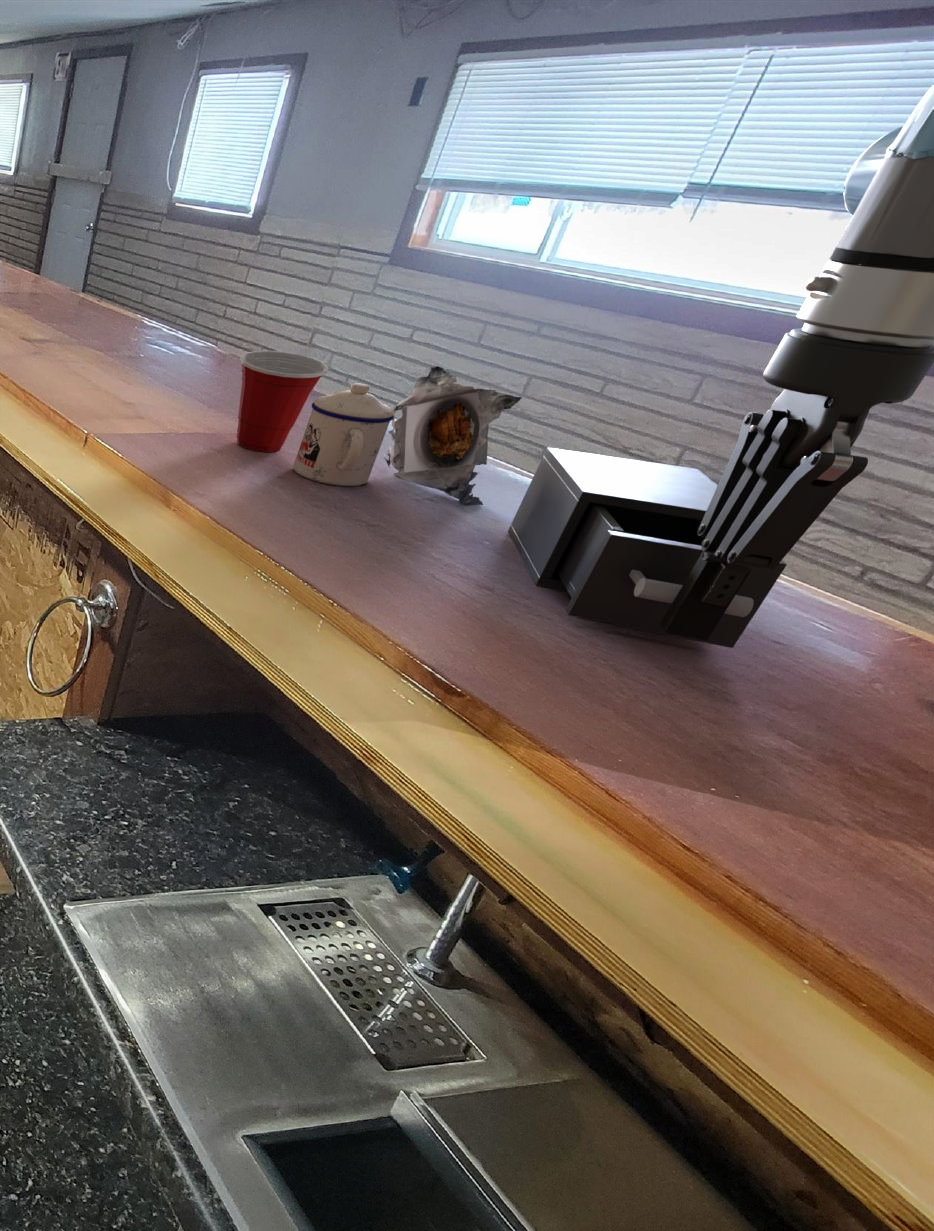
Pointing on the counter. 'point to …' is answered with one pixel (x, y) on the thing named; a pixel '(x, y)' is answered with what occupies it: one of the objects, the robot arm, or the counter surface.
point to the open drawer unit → (646, 571)
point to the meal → (444, 433)
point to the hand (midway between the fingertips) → (682, 632)
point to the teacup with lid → (343, 437)
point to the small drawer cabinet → (596, 501)
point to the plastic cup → (273, 396)
